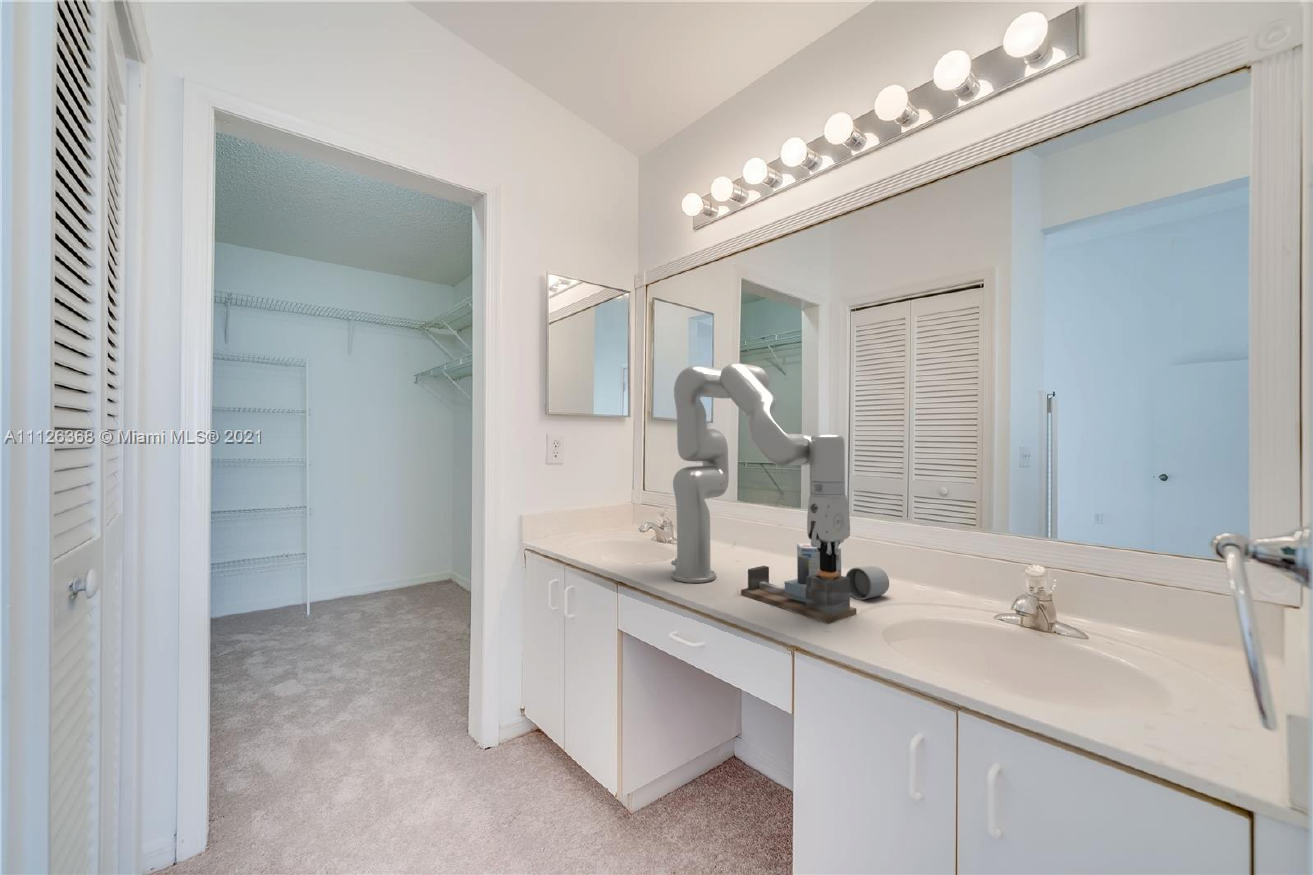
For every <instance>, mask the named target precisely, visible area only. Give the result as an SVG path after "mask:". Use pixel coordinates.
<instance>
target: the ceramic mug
mask: <svg viewBox="0 0 1313 875" xmlns="http://www.w3.org/2000/svg"><path fill="white" fill-rule="evenodd" d="M887 574H888V573H886V571H884V570H883V569H882V568H881V567H877V566H872V565H871V566H858V567H852V568H850V569H849V570H848V572H846V575H845V577H848V578H850V596H851V597H853V598H854V599H856V600H859V601H865V600H869V599H872V598H876V597H877V598H878V597H880V596H882V595H884V594H885V593H887V592H888V591H889V588H890V578H889V576H888V575H887Z"/></svg>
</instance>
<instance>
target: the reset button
mask: <svg viewBox="0 0 1313 875" xmlns="http://www.w3.org/2000/svg"><path fill="white" fill-rule="evenodd" d="M818 576H820V577H822V579H826V580H834V578H837V577H838V571H837V570H836V572H833V573H830V572H825V571H821V570H820V569H818Z"/></svg>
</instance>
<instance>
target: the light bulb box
mask: <svg viewBox="0 0 1313 875" xmlns="http://www.w3.org/2000/svg"><path fill="white" fill-rule="evenodd" d="M796 551H797V553H796V556H808V557H809V576H810V575H814V574H818V569H820V553H818V549H817V547H812V546H811V542H809V543H807V542H806V543H805V542H804V543H803V542H802V543H801V542H797V543H796ZM836 570H837V571H838V575H840V576H842V547H840V545H839V546H838V553H837V554H836Z"/></svg>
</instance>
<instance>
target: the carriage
mask: <svg viewBox="0 0 1313 875" xmlns="http://www.w3.org/2000/svg"><path fill="white" fill-rule="evenodd" d="M796 556H797V555H796ZM796 561H797V564H796V566H797V570H796V572H797V576H796V577H797V578H795V579H792V580H791V579H790V580H786V581H784V588H785V592H786V593H787V597H790V598H793V599H797V600H800V601H803V602H807V590H806V576H809V557H808V556H797V560H796Z"/></svg>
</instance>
